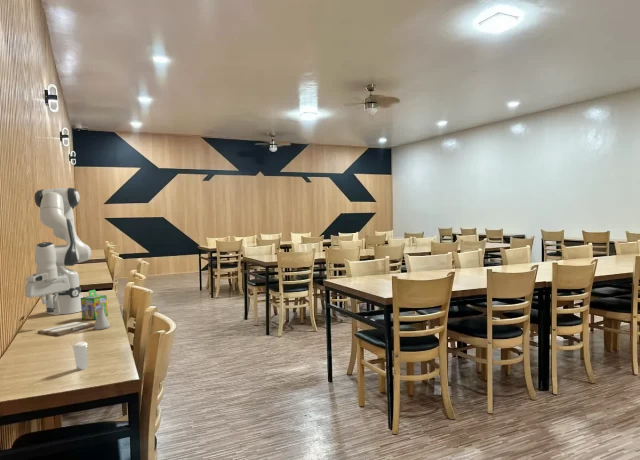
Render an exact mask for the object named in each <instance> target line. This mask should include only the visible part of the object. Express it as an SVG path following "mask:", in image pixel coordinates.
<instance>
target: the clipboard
mask: <svg viewBox="0 0 640 460" xmlns="http://www.w3.org/2000/svg"><path fill="white" fill-rule="evenodd" d="M94 325H95V322H86V321H75V320H74V321H71V322H69V323H64V324H61V325H56V326H53V327H48V328H44V329H40V330H37V334H41V335H47V336H54V337H63V336H65V335H69V334H73V333H77V332H79V331H80V332H81V331H83V330H87V329H91V328H94Z"/></svg>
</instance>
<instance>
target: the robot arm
mask: <svg viewBox="0 0 640 460" xmlns="http://www.w3.org/2000/svg"><path fill="white" fill-rule="evenodd" d="M80 198H81V197H80V193H79V190H77V189H76V188H75V187H67V188H66V187H56V188H48V189H39V190H37V191H35V193H34V198H33V199H34V203H35V206H37V207H38V208H39V220H40V222H41V223H42V224H43V225H44V226H46V228H47V227H48V228H49V229H52V233H53V236H54V237H56V238H58V239H61V240H63V241H65V242H66V244H60V245H59V244H58V245H55V244H54V243H53V242H51V241H45V242H39V243H37V244H36V245H35V251H34V252H35V253H34V259H35V260H34V261H35V264H36V270H35V271H36V272H35V273H33V274H30V275H28V276H26V277H25V282H26V283H25V286H24V294H25V295H24V296H25V297H26V298H28V299H29V298H30V299H31V298H35V297H37V298H38V297H39V299H40V300H41V301H42V302H41V303H42V305H46V304H47V303H48V302H47V300H46V297H45V295H47V294H52V293H53V307H54V312H50V313H47V310H45V311H44V313H45V314H48V315H51V316H59V315H67V314H69V315H70V314H74V313H79V312H82V309H81V299H80V298H83V297H84V296H83V294H81V292H82V289H81V286H80V275H79V273H78V271H76V270H74V269H70V268H68V267H73V266H74V265H76V264H77V263H82V262H86V261H89V260H90V258H91V257H92V249H91V247H90V246H89V245H88V244H86V243H85V242H83V241H82V240H81V239H80V238H79V236H78V234H77V232H76V231H77V230H76V224H75V222H76V221H75V215H74V211H73V209H75V207H77V206H78V205H79V203H80V200H81V199H80Z"/></svg>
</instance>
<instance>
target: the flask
mask: <svg viewBox="0 0 640 460" xmlns="http://www.w3.org/2000/svg"><path fill="white" fill-rule="evenodd" d="M97 311H98V313H97V318H96V320H95V322H94V323H95V325H94V327H92V329H93V330H98V331H99V330H105V329H108V328H110V327H111V324H110V323H109V320H108V318H107V316H105V313H104V307H98V308H97Z"/></svg>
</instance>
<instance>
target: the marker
mask: <svg viewBox="0 0 640 460" xmlns="http://www.w3.org/2000/svg"><path fill="white" fill-rule="evenodd" d="M53 296H54V295H53V293H52V294H47V295H45V297H44V298H45V300H47V302H48V303H47V304H45V307H46V310H45V311H47V313H46V314H48V313H50V312H54V307H53Z"/></svg>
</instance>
